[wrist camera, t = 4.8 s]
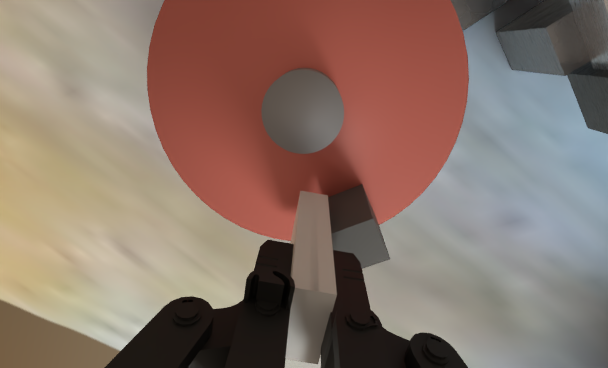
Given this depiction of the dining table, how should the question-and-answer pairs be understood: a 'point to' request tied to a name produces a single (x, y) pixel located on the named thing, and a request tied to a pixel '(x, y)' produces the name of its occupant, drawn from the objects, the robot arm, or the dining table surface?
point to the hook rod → (592, 63)
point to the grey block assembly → (534, 35)
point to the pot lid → (309, 107)
